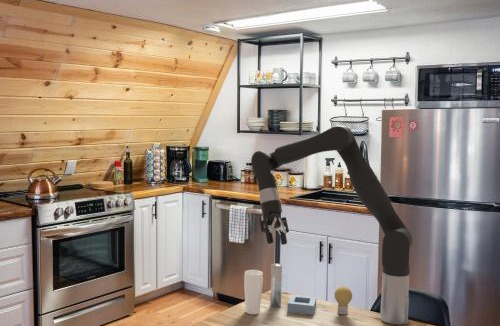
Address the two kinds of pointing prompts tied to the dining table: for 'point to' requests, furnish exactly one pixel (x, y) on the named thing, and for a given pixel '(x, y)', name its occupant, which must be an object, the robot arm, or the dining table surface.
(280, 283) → the steel pin
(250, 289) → the drinking glass
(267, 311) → the dining table surface
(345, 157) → the robot arm
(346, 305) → the light bulb
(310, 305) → the blue square frame
